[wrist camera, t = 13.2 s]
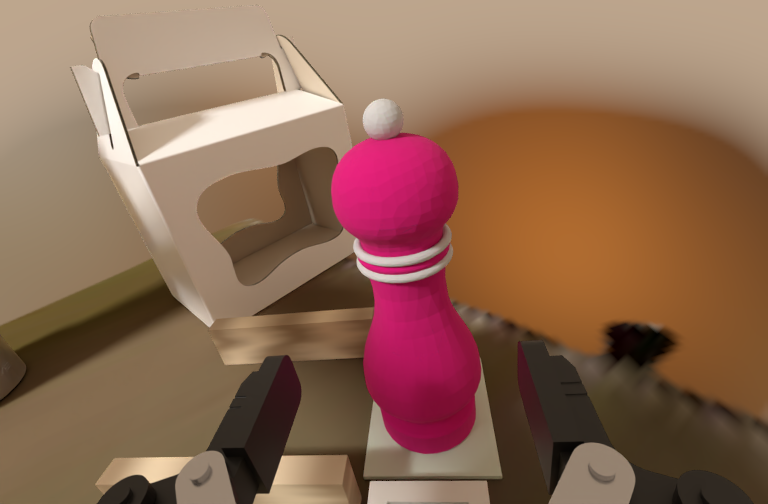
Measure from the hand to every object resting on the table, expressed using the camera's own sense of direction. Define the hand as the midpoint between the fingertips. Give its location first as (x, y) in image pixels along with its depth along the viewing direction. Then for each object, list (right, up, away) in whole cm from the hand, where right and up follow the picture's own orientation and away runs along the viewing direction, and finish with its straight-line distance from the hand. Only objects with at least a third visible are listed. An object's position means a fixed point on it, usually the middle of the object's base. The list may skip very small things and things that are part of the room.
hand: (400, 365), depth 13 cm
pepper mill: (+2, -7, +12) cm, 14 cm away
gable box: (-14, +2, +35) cm, 37 cm away
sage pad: (+3, -7, +13) cm, 15 cm away
